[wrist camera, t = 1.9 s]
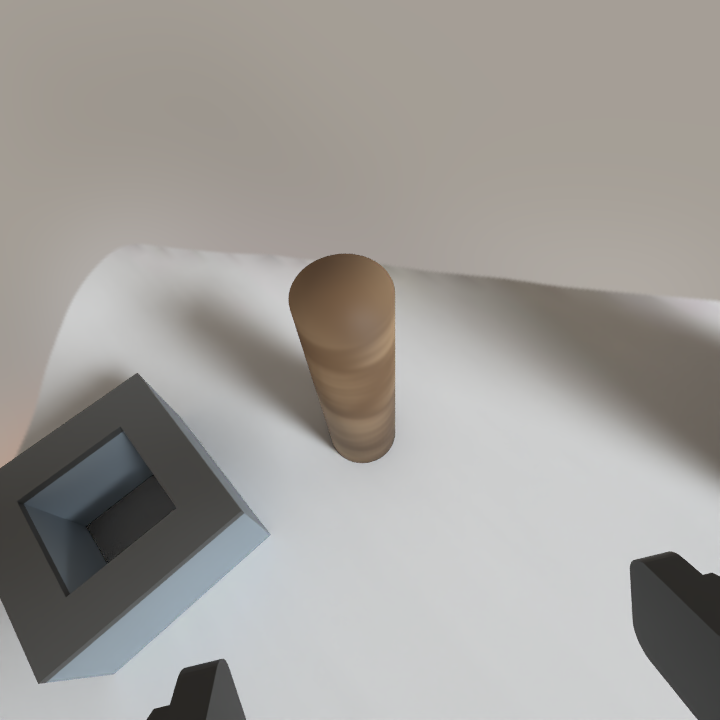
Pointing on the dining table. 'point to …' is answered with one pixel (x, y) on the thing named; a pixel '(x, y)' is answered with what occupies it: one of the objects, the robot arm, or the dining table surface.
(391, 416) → the walnut peg
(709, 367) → the dining table surface
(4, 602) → the collar
